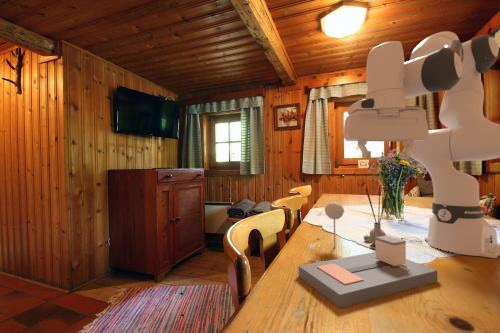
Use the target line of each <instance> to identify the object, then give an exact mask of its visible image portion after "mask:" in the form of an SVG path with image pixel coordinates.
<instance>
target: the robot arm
mask: <svg viewBox="0 0 500 333" xmlns="http://www.w3.org/2000/svg"><path fill="white" fill-rule="evenodd" d="M499 51H500V46H499V44H498V42H497V40H496V39H495V38H494V37H493V36H491V35H489V34H483V35H479V36H476V37H473V38H471V39H470V40H467V41H465V42H461V40H460V39H459V37H458V35H457V34H456V33H455V32H452V31H449V30H447V31H440V32H437V33H434V34H431V35H429V36H427V37H426V38H425V39H423V40H422V41H421V42H420V43H419V44H418V45H416V47H415V48H414V49H413V51H412V52H411V54H410V58H409V59H410V60H409V61H406V62H405V55H404V54H405V53H404V49H403V44H402V42H401V41H400V40H399V41H398V40H392V41H391V40H390V41H387V42H383V43H381V44H379V45H377V46H375V47H373V48H372V49H370V51H369V53H368V55H367V60H366V68H365V83H366V85H367V91H366V95H365V98H364V99H359V100H357V101H355V102H354V103H352V104H351V105H349V107H348V108H347V111H346V112H347V115H348V116H347V117H346V118H345V120H344V125H343V138H344V140H345V141H346V142H357V146H358V148H359V149H360V151H361V155H362V156H361V157H362V159H371V157H372V151H371V150H368V148H367V147H366V145H367V144H368V143H367V142H402V146H403V149H402V151H398V159H400V160H406V159H409V158H410V157H411V159H413V160H414V161H416V162H417V163H420V164H421V165H422V166H423V167H424V168H425V169H426V171H427V172H428V174H429V176H430V179H431V183H432V190H433V202H432V204H431V205H432V206H431V209H432V210H431V212H432V214H433V215H432V216H431V217H430V218H429V221H428V230H427V231H428V232H427V236H425V237H424V240H426V241H425V242H427V243H428V245H429V246H430V247H432V248H435V249H437V248H438V250H440V249H441V250H440V251H443V252H444V251H445V252H448V251H449V252H448V253H452V252H453V254H457V255H466V256H472V257H473V256H474V257H475V256H476V257H483V258H491V259H496V258H498V257H499V256H500V243H499V242H498V233H497V230H496V228H495V227H493V226H492V225H491V224H490V223H489V222H487V221H486V220H485V219H484V217H485V216H484V213H487V212H488V208H487V206H486V205H481V204H480V183H479V181H478V179H476V178H475V177H474V176H472V175H470V174H468V173H465V172H463V171H461V170H458V169H456V167H455V166H454V162H478V161H488V160H495V159H499V158H500V124H499V123H495V122H493V121H492V120H489V119H488V118H487V117H485V116H484V100H485V93H484V92H485V90H484V84H483V82H482V79H481V78H480V75H481V74H484V75H486V74H487V73H488V72H489V70H490V68H491V67H492V66H493V65H494V64H495V62H496V61H497V59H498V57H499ZM439 92H444V95H443V97H442V101H441V104H440V108H439V114H438V118H439V121H440V123H441V124H442V125H443V126H445V128H440V129H431V130H430V129H429V125H428V119H427V110H426V109H424V108H423V107H421V106H420V105H406V100H407V99H412V98H415V97H419V96H425V95H428V94H433V93H439ZM409 156H410V157H409Z"/></svg>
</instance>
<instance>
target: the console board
mask: <svg viewBox="0 0 500 333" xmlns="http://www.w3.org/2000/svg"><path fill="white" fill-rule="evenodd" d="M297 270H298V277H299V278H300V279H302V280H303V281H304V282H305V283H306V284H308V285H309V286H311V288H313V289H314V290H316V291H317V292H319V294H321V295H323V297H325V298H326V299H327V300H329V301H330V302H331V303H333V304H334V305H335V306H336V307H338V308H339V309H342V308H345V307H349V306H353V305H357V304H360V303H364V302H368V301H371V300H374V299H379V298H381V297H382V298H383V297H387V296H390V295H393V294H398V293H401V292H404V291H408V290H412V289H415V288H420V287H422V286H426V285H430V284H434V283H437V282H438V281H439V280H438V279H439V277H438V269H436V268H435V269H434V268H431V267H429V266H426V265H424V264H421V263H418V262H416V261H413V260H410V259H407V258H406V264H401V265H397V266H393V265H390V264H388V263H385V262H383V261H381V260H378V259H376V251H374V252H370V253H369V252H368V253H363V254H357V255H352V256H351V255H350V256H346V257H341V258H335V259H329V260H323V261H318V262H314V263H313V262H312V263H306V264H302V265H298V269H297Z"/></svg>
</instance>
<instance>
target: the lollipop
mask: <svg viewBox="0 0 500 333" xmlns="http://www.w3.org/2000/svg"><path fill="white" fill-rule="evenodd" d="M324 212H325V215H326V216H327V217H328V218H329V219H331V220H333V246H334V248H336V220H339V219H341V218H342V217H343V215H344V213H345V209H344V206H343V205H342V204H341V203H340V202H338V201H329V202H328V203H327V204H326V206H325V207H324Z"/></svg>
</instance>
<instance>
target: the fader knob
mask: <svg viewBox="0 0 500 333" xmlns="http://www.w3.org/2000/svg"><path fill="white" fill-rule="evenodd" d="M374 246H375V252H376V259H378V260H381V261H383V262H385V263H388V264H390V265H393V266H397V265H401V264H406V259H407V256H406V255H407V254H406V253H407V252H406V249H407V248H406V246H407V241H406V240H403V239H400V238H396V237H393V236H390V235H386V236H380V237H375V245H374Z"/></svg>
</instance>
